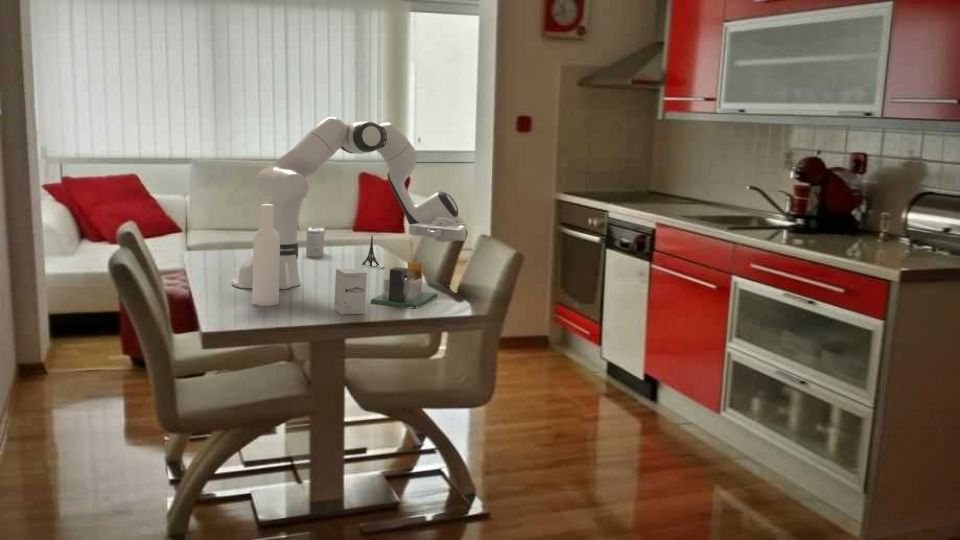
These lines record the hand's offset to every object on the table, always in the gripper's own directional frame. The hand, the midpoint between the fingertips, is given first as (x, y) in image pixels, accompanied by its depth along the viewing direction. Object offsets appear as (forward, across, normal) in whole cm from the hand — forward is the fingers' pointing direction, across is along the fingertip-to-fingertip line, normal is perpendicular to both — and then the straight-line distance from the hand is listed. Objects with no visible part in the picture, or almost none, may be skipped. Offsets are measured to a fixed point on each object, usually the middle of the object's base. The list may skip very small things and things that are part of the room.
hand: (430, 233), depth 296 cm
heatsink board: (+22, 0, +19) cm, 29 cm away
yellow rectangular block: (+19, 0, +16) cm, 25 cm away
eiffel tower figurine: (-34, -35, +20) cm, 53 cm away
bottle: (+50, -34, +19) cm, 64 cm away
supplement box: (+48, -8, +20) cm, 52 cm away
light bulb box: (-44, -65, +20) cm, 81 cm away
